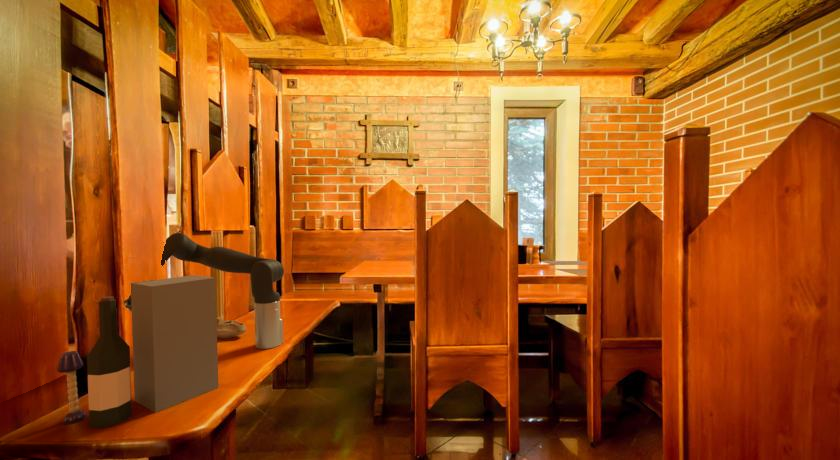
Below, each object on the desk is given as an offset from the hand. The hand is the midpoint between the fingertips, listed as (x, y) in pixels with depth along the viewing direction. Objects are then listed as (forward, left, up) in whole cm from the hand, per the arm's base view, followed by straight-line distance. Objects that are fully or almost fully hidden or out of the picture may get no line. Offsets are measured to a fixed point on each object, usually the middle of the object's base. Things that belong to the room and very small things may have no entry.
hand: (161, 291), depth 124 cm
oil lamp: (-29, -10, -25) cm, 40 cm away
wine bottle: (+24, +28, -25) cm, 44 cm away
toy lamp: (+29, +20, -25) cm, 43 cm away
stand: (+9, +28, -25) cm, 39 cm away
